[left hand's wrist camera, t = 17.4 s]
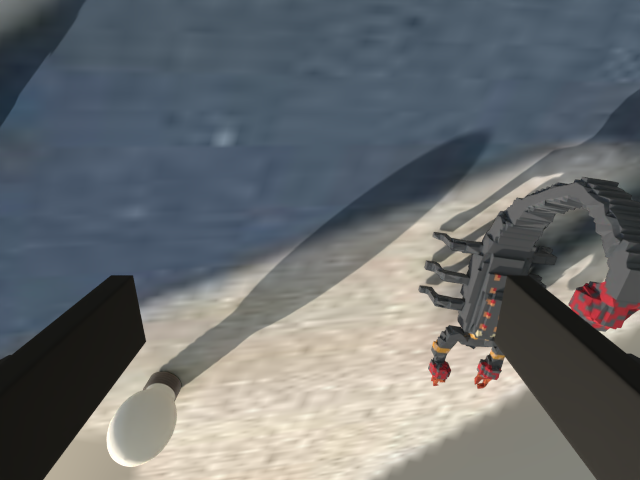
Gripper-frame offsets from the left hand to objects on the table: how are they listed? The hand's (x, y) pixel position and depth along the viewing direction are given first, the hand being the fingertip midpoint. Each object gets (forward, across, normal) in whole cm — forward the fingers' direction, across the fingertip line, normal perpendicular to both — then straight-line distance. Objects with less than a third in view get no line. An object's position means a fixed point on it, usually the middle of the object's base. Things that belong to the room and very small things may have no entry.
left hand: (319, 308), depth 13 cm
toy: (+27, +18, -12) cm, 34 cm away
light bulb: (+27, -20, -27) cm, 43 cm away
